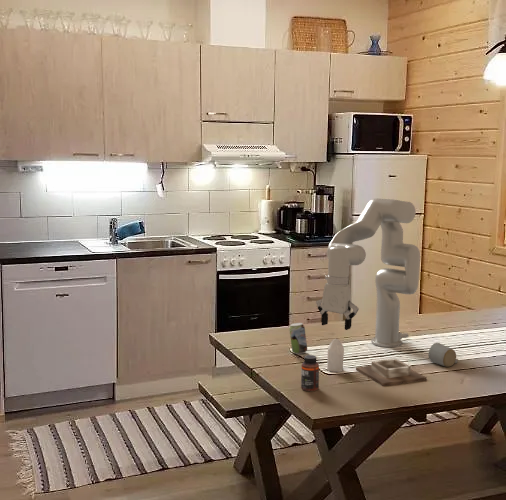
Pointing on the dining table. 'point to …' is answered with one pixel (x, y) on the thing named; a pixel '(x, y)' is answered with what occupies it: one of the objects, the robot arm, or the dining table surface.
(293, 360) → the dining table surface
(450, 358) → the ceramic mug
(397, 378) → the stand
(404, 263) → the robot arm
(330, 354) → the roll
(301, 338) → the beverage can
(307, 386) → the supplement bottle
